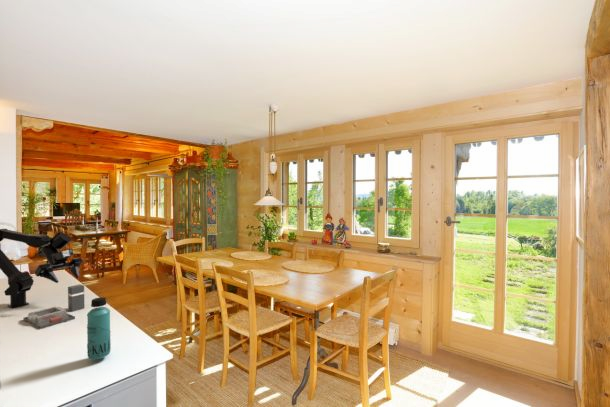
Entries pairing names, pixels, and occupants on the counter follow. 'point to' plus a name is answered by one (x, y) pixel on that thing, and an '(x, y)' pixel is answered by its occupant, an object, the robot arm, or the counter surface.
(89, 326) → the beverage bottle
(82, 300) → the plug block
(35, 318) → the grey socket base
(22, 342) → the counter surface
